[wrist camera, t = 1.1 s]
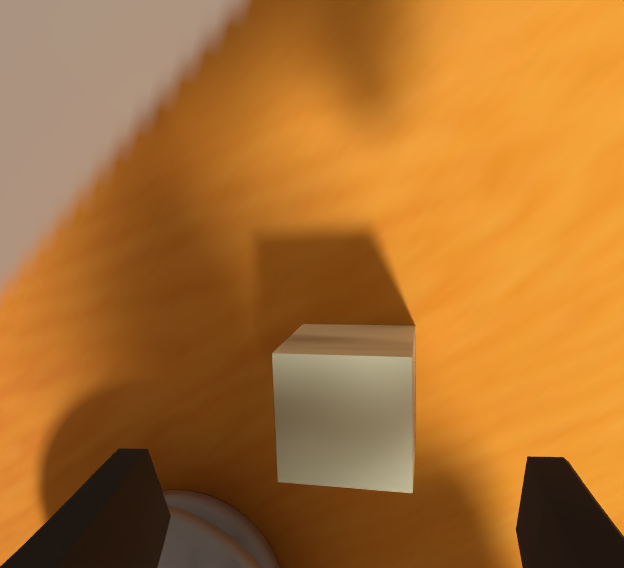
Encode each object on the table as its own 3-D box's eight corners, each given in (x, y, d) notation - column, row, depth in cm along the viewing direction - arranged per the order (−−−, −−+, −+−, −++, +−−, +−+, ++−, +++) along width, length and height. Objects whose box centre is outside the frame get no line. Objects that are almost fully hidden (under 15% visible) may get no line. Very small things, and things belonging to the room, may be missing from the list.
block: (415, 434, 21) (413, 493, 17) (307, 427, 22) (277, 482, 18) (415, 325, 21) (412, 357, 16) (303, 323, 22) (271, 353, 17)
